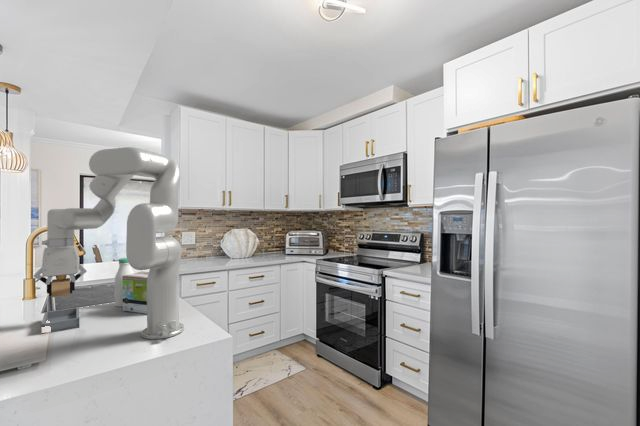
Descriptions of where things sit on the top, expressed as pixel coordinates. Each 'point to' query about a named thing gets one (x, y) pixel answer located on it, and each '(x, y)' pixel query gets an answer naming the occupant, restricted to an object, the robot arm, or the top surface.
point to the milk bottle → (122, 271)
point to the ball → (61, 277)
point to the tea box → (135, 292)
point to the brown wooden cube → (60, 287)
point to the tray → (61, 319)
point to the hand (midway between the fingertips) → (61, 293)
